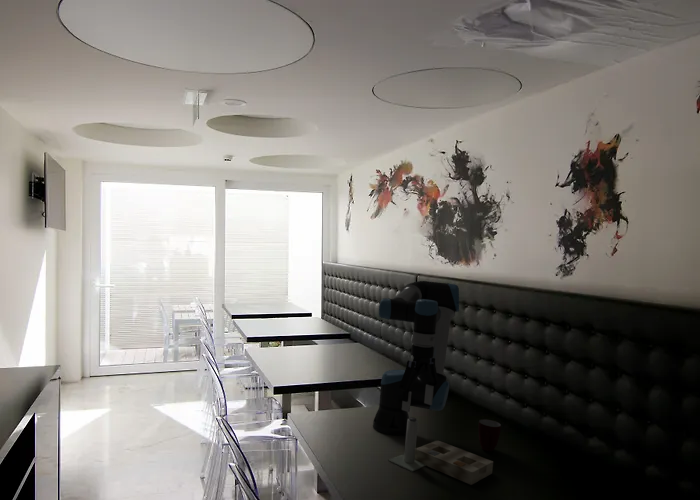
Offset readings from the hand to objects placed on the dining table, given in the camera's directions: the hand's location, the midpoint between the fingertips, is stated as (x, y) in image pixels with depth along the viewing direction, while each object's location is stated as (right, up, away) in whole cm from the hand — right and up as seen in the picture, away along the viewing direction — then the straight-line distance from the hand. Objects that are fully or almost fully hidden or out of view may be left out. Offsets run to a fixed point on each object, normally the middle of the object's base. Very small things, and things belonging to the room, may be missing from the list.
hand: (417, 407), depth 170 cm
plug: (-3, -18, 0) cm, 19 cm away
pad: (-3, -19, 0) cm, 19 cm away
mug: (+29, -22, +17) cm, 40 cm away
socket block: (+12, -20, 0) cm, 23 cm away
